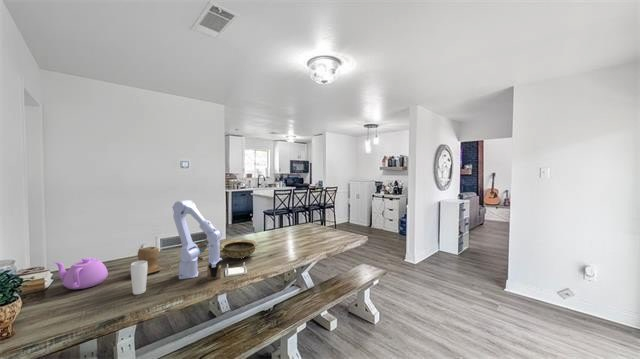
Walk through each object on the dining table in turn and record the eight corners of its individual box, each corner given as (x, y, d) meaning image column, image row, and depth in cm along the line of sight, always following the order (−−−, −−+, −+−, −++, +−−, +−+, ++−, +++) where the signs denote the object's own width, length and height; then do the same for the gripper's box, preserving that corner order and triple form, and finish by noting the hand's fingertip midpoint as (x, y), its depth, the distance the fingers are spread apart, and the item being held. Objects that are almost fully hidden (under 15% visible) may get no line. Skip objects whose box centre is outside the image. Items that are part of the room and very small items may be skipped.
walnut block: (207, 280, 138) (207, 269, 138) (207, 276, 142) (207, 266, 142) (220, 278, 140) (220, 268, 140) (220, 275, 145) (220, 265, 144)
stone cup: (157, 266, 155) (157, 243, 155) (163, 271, 147) (163, 247, 147) (127, 274, 144) (127, 248, 143) (132, 280, 136) (132, 253, 135)
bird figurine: (183, 266, 155) (199, 235, 163) (176, 262, 161) (192, 233, 169) (201, 271, 164) (216, 242, 172) (194, 267, 170) (208, 240, 178)
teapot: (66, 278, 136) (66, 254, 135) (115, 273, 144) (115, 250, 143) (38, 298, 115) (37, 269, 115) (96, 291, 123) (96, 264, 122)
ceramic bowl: (225, 268, 155) (226, 252, 154) (210, 258, 171) (210, 244, 171) (266, 257, 176) (267, 243, 176) (249, 249, 193) (250, 236, 192)
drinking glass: (145, 287, 127) (145, 259, 127) (149, 292, 123) (149, 262, 123) (129, 292, 122) (128, 262, 122) (133, 297, 118) (132, 266, 117)
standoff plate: (225, 276, 143) (225, 269, 142) (225, 270, 152) (225, 263, 151) (246, 274, 147) (246, 267, 147) (245, 268, 156) (245, 261, 156)
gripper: (221, 255, 135) (221, 279, 136) (222, 247, 149) (221, 269, 149) (207, 256, 133) (207, 281, 133) (209, 248, 146) (209, 270, 147)
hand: (214, 275), depth 141 cm, fingers closed on walnut block, 4 cm apart
